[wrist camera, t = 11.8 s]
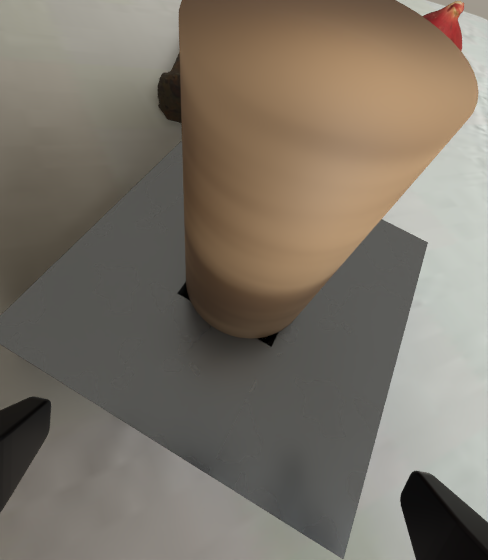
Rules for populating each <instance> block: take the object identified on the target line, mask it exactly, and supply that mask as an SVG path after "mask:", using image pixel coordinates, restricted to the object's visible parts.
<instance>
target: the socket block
mask: <svg viewBox="0 0 488 560" xmlns="http://www.w3.org/2000/svg"><path fill="white" fill-rule="evenodd" d="M427 244H428V242H426V241H424V240H422V239H420V238H418V237H416V236H414V235H412V234H410V233H408V232H406V231H404V230H402V229H400V228H398V227H396V226H394V225H392V224H390V223H388V222H386V221H384V220H382V219H381V220H380V221H379V223H378V224H377V225H376V226H375V227H374V228H373V229H372V231H371V232H370V233H369V234H368V235H367V236H366V238H365V239H364V240H363V241H362V242H361V243H360V244H359V246H358V247H357V248H356V249H355V250H354V251H353V252H352V254H351V255H350V256H349V257H348V258H347V259H346V261H345V262H344V263H343V264H342V265H341V266H340V267H339V269H338V270H337V271H336V272H335V273H334V274H333V276H332V277H331V278H330V279H329V280H328V281H327V282H326V284H325V285H324V286H323V287H322V288H321V289H320V291H319V292H318V293H317V294H316V295H315V296H314V297H313V299H312V300H311V301H310V302H309V303H308V304H307V306H306V307H305V308H304V309H303V310H302V311H301V312H300V314H299V315H298V316H297V317H296V318H295V319H294V320H293V322H292V323H290V324H289V325H288V326H287V327H286V328H284V329H283V330H281V331H279V332H277V333H275V334H273V335H272V336H271V338H270V340H269V342H268V344H265V343H264V342H262V341H260V340H258V339H257V338H250V339H249V338H239V337H235V336H231V335H228V334H225V333H223V332H221V331H219V330H217V329H215V328H214V327H212V326H211V325H209V324H208V323H207V322H206V321H205V320H204V319H203V318H202V317H201V316H200V315H199V314H198V313H197V311H196V310H195V308H194V307H193V305H192V303H191V301H190V299H189V295H188V292H187V287H186V265H185V228H184V192H183V156H182V141H181V142H180V143H179V144H178V145H177V146H176V147H175V148H174V149H173V150H172V151H171V152H170V153H169V154H167V155H166V156H165V157H164V158H163V159H162V160H161V161H160V162H159V163H158V164H157V165H156V166H155V167H154V168H153V169H152V170H151V171H150V172H149V173H148V174H147V175H146V176H145V177H144V178H143V179H142V180H141V181H139V182H138V183H137V184H136V185H135V186H134V187H133V188H132V189H131V190H130V191H129V192H128V193H127V194H126V195H125V196H124V197H123V198H122V199H121V200H120V201H119V202H118V203H117V204H116V205H115V206H114V207H113V208H111V209H110V210H109V211H108V212H107V213H106V214H105V215H104V216H103V217H102V218H101V219H100V220H99V221H98V222H97V223H96V224H95V225H94V226H93V227H92V228H91V229H90V230H89V231H88V232H87V233H86V234H84V235H83V236H82V237H81V238H80V239H79V240H78V241H77V242H76V243H75V244H74V245H73V246H72V247H71V248H70V249H69V250H68V251H67V252H66V253H65V254H64V255H63V256H62V257H61V258H60V259H59V260H58V261H56V262H55V263H54V264H53V265H52V266H51V267H50V268H49V269H48V270H47V271H46V272H45V273H44V274H43V275H42V276H41V277H40V278H39V279H38V280H37V281H36V282H35V283H34V284H33V285H32V286H31V287H30V288H28V289H27V290H26V291H25V292H24V293H23V294H22V295H21V296H20V297H19V298H18V299H17V300H16V301H15V302H14V303H13V304H12V305H11V306H10V307H9V308H8V309H7V310H6V311H5V312H4V313H3V314H2V315H0V344H1V345H2V346H4V347H6V348H7V349H9V350H10V351H12V352H14V353H15V354H17V355H18V356H20V357H22V358H23V359H25V360H26V361H28V362H30V363H31V364H33V365H34V366H36V367H38V368H39V369H41V370H42V371H44V372H46V373H47V374H49V375H50V376H52V377H53V378H55V379H57V380H58V381H60V382H61V383H63V384H65V385H66V386H68V387H69V388H71V389H73V390H74V391H76V392H77V393H79V394H81V395H82V396H84V397H85V398H87V399H89V400H90V401H92V402H93V403H95V404H97V405H98V406H100V407H101V408H103V409H105V410H106V411H108V412H109V413H111V414H112V415H114V416H116V417H117V418H119V419H120V420H122V421H124V422H125V423H127V424H128V425H130V426H132V427H133V428H135V429H136V430H138V431H140V432H141V433H143V434H144V435H146V436H148V437H149V438H151V439H152V440H154V441H156V442H157V443H159V444H160V445H162V446H163V447H165V448H167V449H168V450H170V451H171V452H173V453H175V454H176V455H178V456H179V457H181V458H183V459H184V460H186V461H187V462H189V463H191V464H192V465H194V466H195V467H197V468H199V469H200V470H202V471H203V472H205V473H207V474H208V475H210V476H211V477H213V478H215V479H216V480H218V481H219V482H221V483H222V484H224V485H226V486H227V487H229V488H230V489H232V490H234V491H235V492H237V493H238V494H240V495H242V496H243V497H245V498H246V499H248V500H250V501H251V502H253V503H254V504H256V505H258V506H259V507H261V508H262V509H264V510H266V511H267V512H269V513H270V514H272V515H274V516H275V517H277V518H278V519H280V520H281V521H283V522H285V523H286V524H288V525H289V526H291V527H293V528H294V529H296V530H297V531H299V532H301V533H302V534H304V535H305V536H307V537H309V538H310V539H312V540H313V541H315V542H317V543H318V544H320V545H321V546H323V547H325V548H326V549H328V550H329V551H331V552H333V553H334V554H336V555H337V556H339V557H340V558H342V559H344V555H345V551H346V548H347V544H348V540H349V536H350V533H351V529H352V525H353V521H354V518H355V514H356V510H357V506H358V503H359V499H360V495H361V491H362V488H363V484H364V480H365V476H366V473H367V469H368V465H369V461H370V458H371V454H372V450H373V446H374V443H375V439H376V435H377V431H378V428H379V424H380V420H381V416H382V413H383V409H384V405H385V401H386V398H387V394H388V390H389V386H390V382H391V379H392V375H393V371H394V367H395V364H396V360H397V356H398V352H399V349H400V345H401V341H402V337H403V334H404V330H405V326H406V322H407V319H408V315H409V311H410V307H411V304H412V300H413V296H414V292H415V289H416V285H417V281H418V277H419V274H420V270H421V266H422V262H423V259H424V255H425V251H426V247H427Z"/></svg>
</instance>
